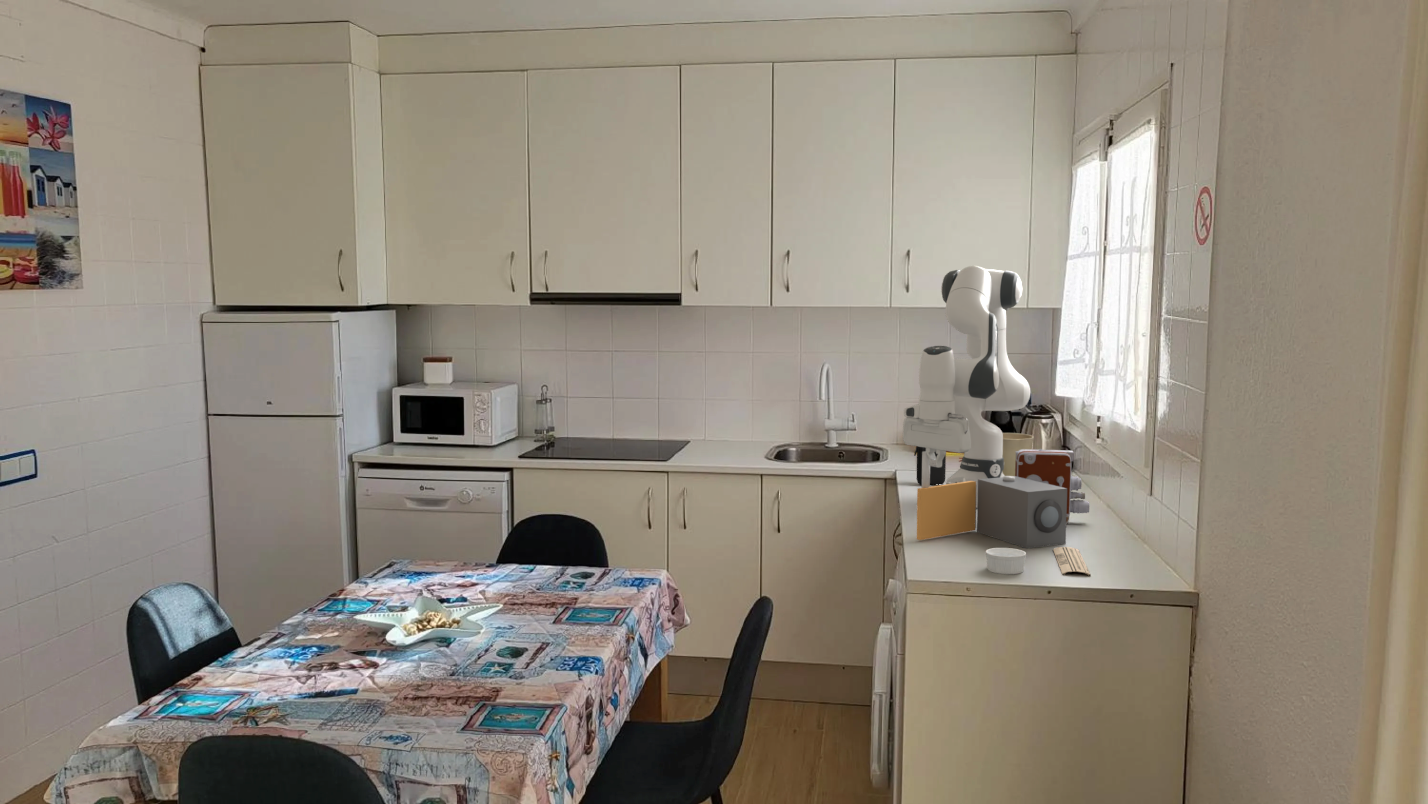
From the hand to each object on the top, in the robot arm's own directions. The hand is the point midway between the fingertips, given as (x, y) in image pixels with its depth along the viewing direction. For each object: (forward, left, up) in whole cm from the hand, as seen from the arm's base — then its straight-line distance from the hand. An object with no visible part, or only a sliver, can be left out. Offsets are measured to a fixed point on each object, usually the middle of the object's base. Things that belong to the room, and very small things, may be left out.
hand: (935, 466), depth 268 cm
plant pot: (-61, +71, -19) cm, 96 cm away
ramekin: (+30, -1, -20) cm, 36 cm away
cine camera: (-7, +43, -19) cm, 48 cm away
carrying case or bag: (-69, +45, -19) cm, 85 cm away
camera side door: (-5, +7, -19) cm, 20 cm away
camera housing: (+5, +23, -19) cm, 30 cm away
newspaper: (+30, +16, -20) cm, 40 cm away
